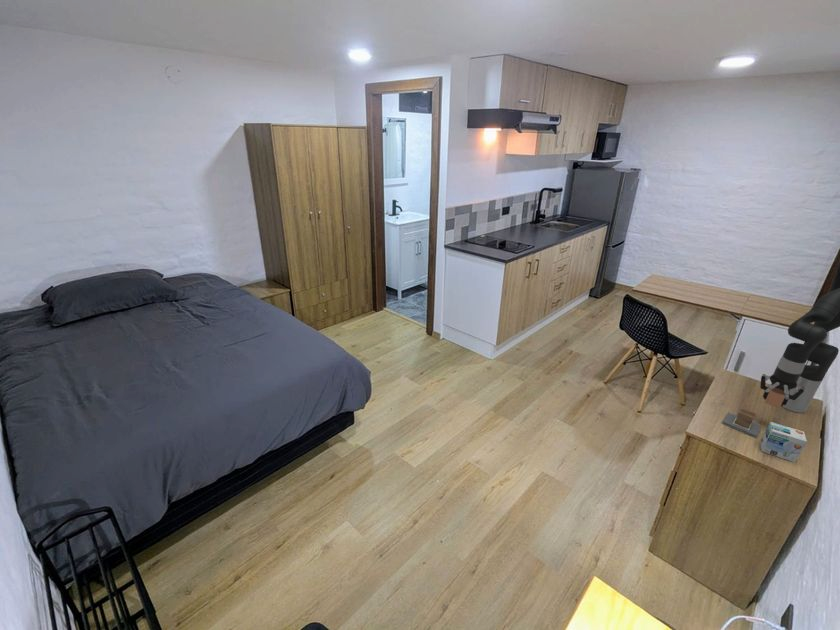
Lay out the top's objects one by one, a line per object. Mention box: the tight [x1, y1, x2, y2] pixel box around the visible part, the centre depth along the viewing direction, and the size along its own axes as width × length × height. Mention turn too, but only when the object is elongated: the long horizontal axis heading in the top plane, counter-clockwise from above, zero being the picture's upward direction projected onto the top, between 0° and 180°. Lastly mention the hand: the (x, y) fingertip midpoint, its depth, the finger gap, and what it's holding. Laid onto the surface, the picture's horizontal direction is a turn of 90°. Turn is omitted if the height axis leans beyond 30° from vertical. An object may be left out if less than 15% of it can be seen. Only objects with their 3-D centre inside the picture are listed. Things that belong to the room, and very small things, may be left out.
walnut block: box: [734, 407, 757, 429], centre depth 168 cm, size 5×5×6 cm
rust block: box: [764, 388, 786, 409], centre depth 165 cm, size 5×5×6 cm
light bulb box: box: [759, 421, 808, 463], centre depth 154 cm, size 11×7×11 cm, turn 56°
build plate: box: [721, 412, 763, 439], centre depth 170 cm, size 9×12×1 cm
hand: (773, 401), depth 166 cm, fingers closed on rust block, 5 cm apart
